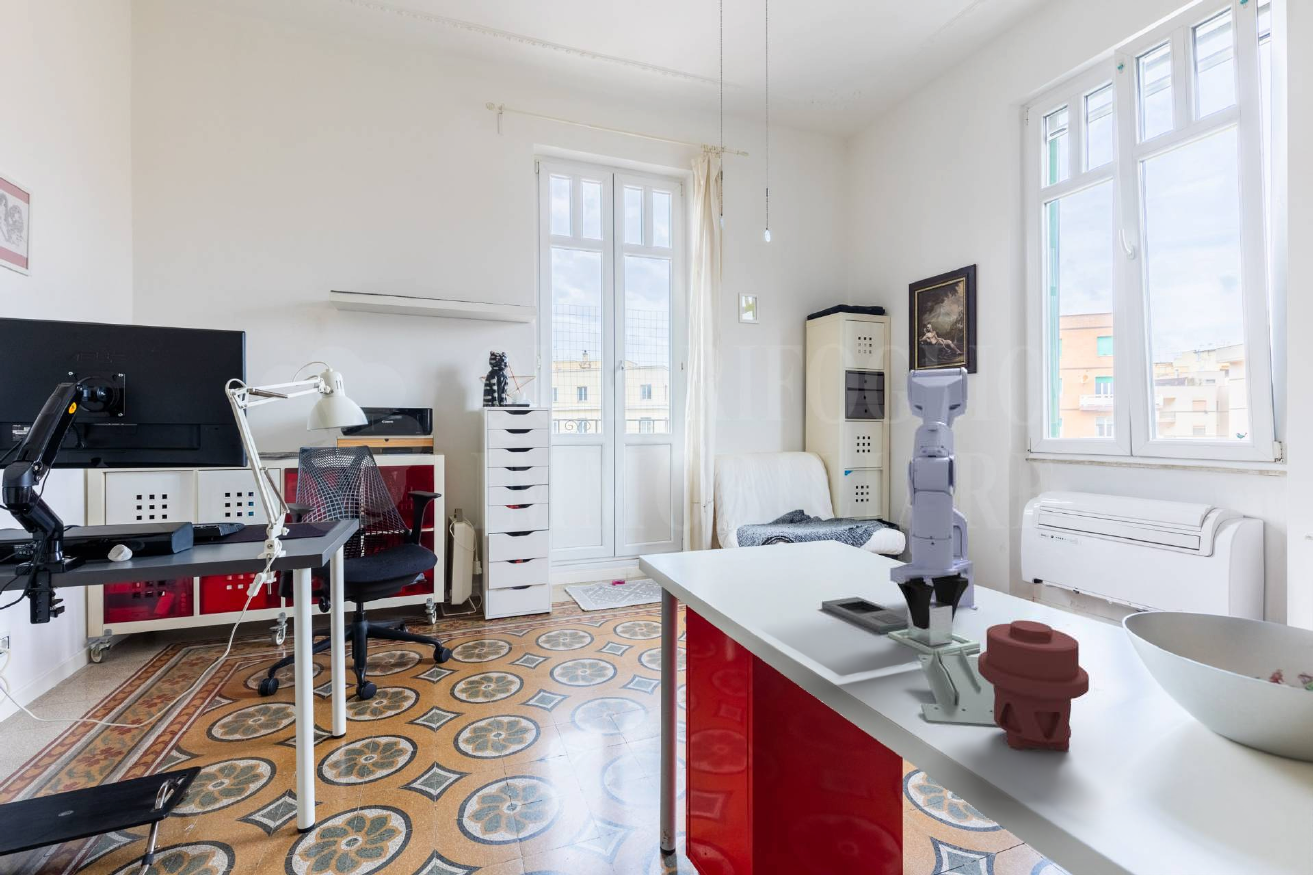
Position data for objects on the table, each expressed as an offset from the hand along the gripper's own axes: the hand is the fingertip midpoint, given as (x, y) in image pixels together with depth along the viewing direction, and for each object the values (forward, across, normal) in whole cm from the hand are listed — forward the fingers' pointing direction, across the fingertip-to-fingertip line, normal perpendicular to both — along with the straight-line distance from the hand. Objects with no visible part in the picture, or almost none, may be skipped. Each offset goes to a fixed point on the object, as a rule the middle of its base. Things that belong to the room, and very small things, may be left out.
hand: (932, 625), depth 92 cm
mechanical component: (+4, -12, -25) cm, 28 cm away
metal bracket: (+4, -9, -16) cm, 19 cm away
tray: (+3, 0, 0) cm, 3 cm away
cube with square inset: (+2, 0, +1) cm, 2 cm away
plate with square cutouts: (+3, -1, +13) cm, 13 cm away
